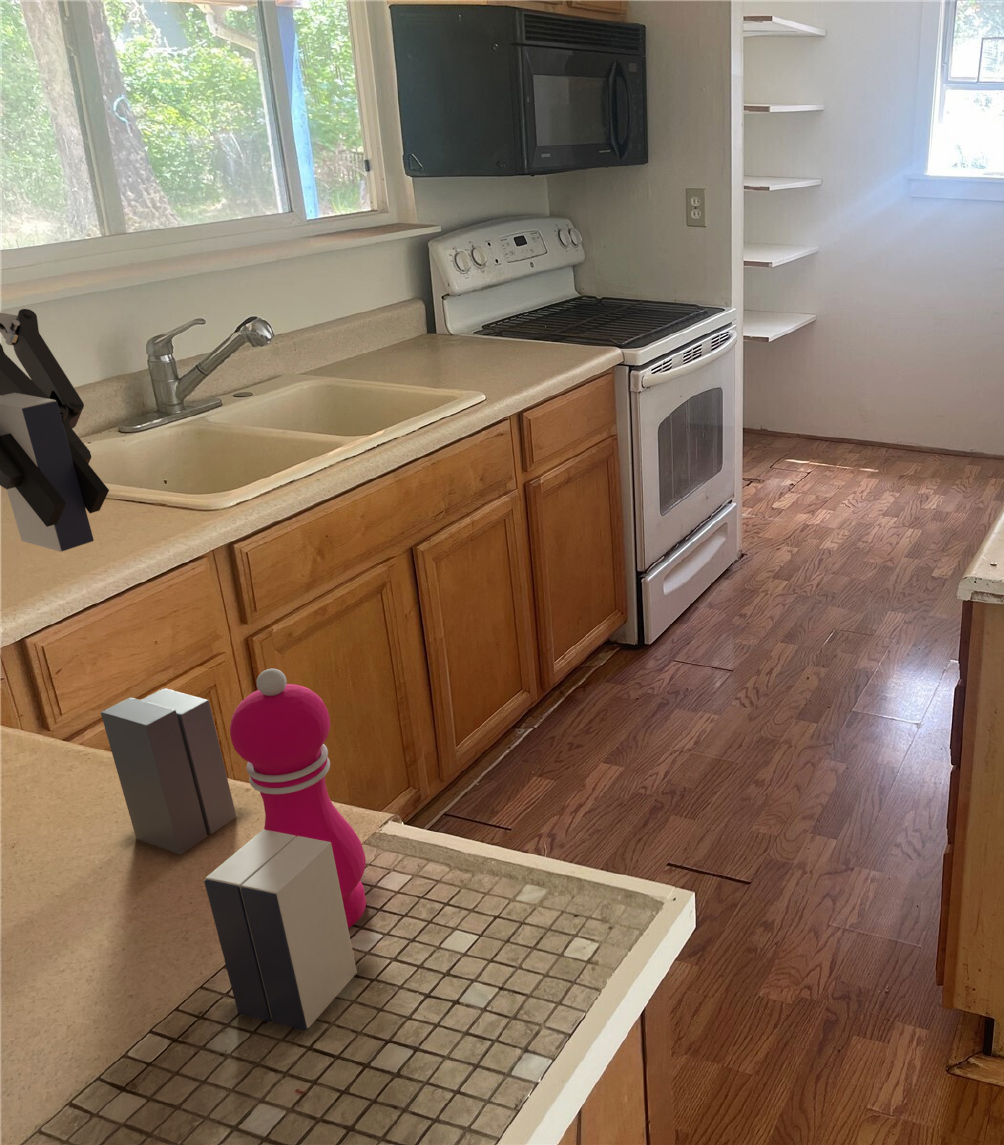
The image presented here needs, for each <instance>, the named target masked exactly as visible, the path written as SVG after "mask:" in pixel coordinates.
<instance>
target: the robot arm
mask: <svg viewBox="0 0 1004 1145" xmlns="http://www.w3.org/2000/svg"><path fill="white" fill-rule="evenodd" d="M0 334H1V335H2V338H3V339H4V340H5V343H6V345H8V346H13V351H14V353H15V356H16V357H17V359H18V361H19V363H20V364H21V366H22V367H23V369H24V370H25V372H26V373H27V374H26V373H25V372H24V371H23V369H21V368H20V367H19V366H18V365H17V364H16V363H15V362H14V361H13V360H12V359H11V358H10V357H9V356H8V355H7V354H6V353H5V351H4V347H3V345H2V343H1V342H0V396H1V395H6V394H11V393H19V394H25V395H30V396H36V397H41V398H47V399H53V400H56V401H57V403H58V407H59V411H60V415H61V418H62V422H63V426H64V430H65V434H66V437H67V441H68V445H69V449H70V452H71V456H72V460H73V464H74V468H75V471H76V475H77V479H78V483H79V486H80V490H81V494H82V498H83V501H84V505H85V509H86V512H88V513H89V514H93V513H96V512H100V511H101V509H102V507H103V504H104V502H105V500H106V498H107V496H108V494H109V492H110V489H109V488H108V487H107V485H106V484H105V483H104V481H102V479H101V477H99V475H98V474H97V472H95V470H94V469H93V468H92V467H91V465H90V461H91V459H92V454H91V451H90V450H89V448H88V447H87V446H86V445H85V443H84V442H83V441H82V439H81V438H80V437H79V436H78V434H77V433H76V432H75V431H74V428H75V427H76V426H77V424H78V422H79V419H80V417H81V416H82V412H83V410H84V408H85V404H84V401H83V400H82V398H81V397H80V395H79V393H78V392H77V390H76V389H75V387H74V385H73V383H72V382H71V381H70V379H69V378H68V376H67V375H66V372H64V370H63V368H62V366H61V365H60V363H59V362H58V360H57V358H56V357H55V355H54V354H53V352H52V351H51V349H50V348H49V346H48V345H47V342H45V340H44V337H42V335H41V334H40V329H39V322H38V316H37V313H35V312H34V311H33V310H31V309H28V308H21V309H19V310H18V312H17V315H16V314H11V313H6V312H0ZM0 487H2V488H3V489H5V490H7V489H11V488H14V487H16V489H17V490H18V491H19V493H20V494H21V495H22V496H23V498H24V499H25V500H26V501H27V503H28V504H29V505H30V506H31V508H32V509H33V510H34V511H35V513H36V514H37V515H38V517H39V518H40V519H41V520H42V522H43V523H44V524H45V525H46V527H48V526H52V525H55V524H57V523H58V521H59V518H60V516H61V514H62V511H63V509H64V507H65V505H66V502H65V501H64V500H63V498H62V497H61V496H60V495H59V493H58V492H57V491H56V489H55V488H54V487H53V486H52V484H51V483H50V482H49V481H48V479H47V478H46V477H45V476H44V474H43V473H42V472H41V471H40V469H39V468H38V467H37V466H36V465H35V463H34V462H33V461H32V460H31V458H30V457H29V456H28V455H27V453H26V452H25V451H24V450H23V448H22V447H21V446H20V445H19V443H18V442H17V441H16V439H15V438H14V437H13V436H12V434H11V433H10V434H5V435H1V436H0Z"/></svg>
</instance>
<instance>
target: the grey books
mask: <svg viewBox="0 0 1004 1145" xmlns="http://www.w3.org/2000/svg"><path fill="white" fill-rule="evenodd" d="M100 715H101V719H102V724H103V727H104V730H105V733H106V737H107V740H108V744H109V747H110V751H111V754H112V758H113V762H114V765H115V769H116V773H117V776H118V779H119V784H120V786H121V790H122V793H123V798H124V801H125V803H126V807H127V808H126V809H127V812H128V815H129V817H130V822H131V825H132V828H133V833H134V836H135V839H136V840H139V841H141V842H144V843H147V844H149V845H152V846H155V847H158V848H161V849H163V850H167V851H169V852H171V853H174V854H178V855H182V854H183V853H185V852H187V851H188V850H190V849H192V848H193V847H194V846H196V845H197V844H199V843H200V842H202V841H203V840H205V839H206V838H208V834H209V835H212V834H214V833H216V832H217V831H219V830H220V829H221V828H223V827H224V826H226V825H228V824H229V823H230V822H232V821H233V820H235V819H236V818H237V812H236V809H235V805H234V800H233V796H232V792H231V787H230V783H229V779H228V775H227V771H226V766H225V763H224V758H223V754H222V750H221V745H220V741H219V738H218V734H217V729H216V724H215V721H214V716H213V712H212V708H211V703H210V700H209V699H206V698H203V697H199V696H195V695H191V694H187V693H184V692H180V691H176V690H173V689H169V688H166V687H163V688H161V689H159V690H157V691H156V692H153V693H151V694H149V695H147V696H146V697H143V698H142V699H139V698H134V697H128V698H126V699H124V700H121V701H120V702H118V703H116V704H114V705H112V706H110V707H107V708H106V709H103V710H102V711H100Z"/></svg>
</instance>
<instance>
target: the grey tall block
mask: <svg viewBox="0 0 1004 1145" xmlns="http://www.w3.org/2000/svg"><path fill="white" fill-rule="evenodd" d="M203 883H204V887H205V891H206V894H207V899H208V903H209V907H210V909H211V914H212V918H213V922H214V925H215V929H216V933H217V937H218V940H219V945H220V949H221V952H222V956H223V960H224V964H225V967H226V972H227V976H228V980H229V983H230V988H231V991H232V995H233V999H234V1003H235V1006H236V1010H237V1014H238V1015H242V1016H244V1017H245V1016H246V1017H249V1018H253V1019H257V1020H262V1021H265V1022H269V1023H271V1022H272V1023H274V1024H278V1025H282V1026H284V1027H285V1026H286V1027H289V1028H293V1029H296V1030H297V1029H298V1030H301V1031H307V1030H308V1029H309V1028H310V1027H311V1026H312V1025H313V1024H314V1022H315V1021H316V1020H317V1019H318V1018H319V1017H320V1016H321V1014H323V1012H324V1011H325V1010H326V1009H327V1008H328V1007H329V1005H330V1004H331V1003H332V1002H333V1001H334V1000H335V999H336V998H337V996H338V995H339V994H340V993H341V991H343V990H344V988H345V987H346V986H347V984H349V982H350V981H351V980H353V978H354V977H355V976H356V974H358V971H357V966H356V961H355V956H354V950H353V945H352V942H351V936H350V930H349V928H348V925H347V920H346V915H345V910H344V905H343V900H342V895H341V890H340V885H339V880H338V875H337V870H336V865H335V860H334V855H333V850H332V845H331V842H327V841H322V840H317V839H311V838H306V837H301V836H297V837H296V836H295V835H290V834H285V833H280V832H274V831H269V830H264V828H263V829H261V830H260V831H259V832H257V834H255V835H254V836H253V837H252V838H250V840H248V841H247V842H246V843H245V844H243V845H242V846H241V847H240V848H238V849H237V851H235V852H234V853H233V854H232V855H230V856H229V857H228V858H227V859H226V860H224V861H223V862H222V863H221V864H220V865H219V866H217V867H216V868H215V869H214V870H212V872H210V873H209V874H207V876H206V877H205V879H204V880H203Z"/></svg>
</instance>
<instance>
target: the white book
mask: <svg viewBox="0 0 1004 1145" xmlns="http://www.w3.org/2000/svg"><path fill="white" fill-rule="evenodd" d="M10 433H11V434H12V436H13V437H14V438H15V439H16V441H17V442H18V443H19V445H20V446H21V447H22V448H23V450H24V451H25V452H26V453H27V455H28V456H29V457H30V458H31V460H32V461H33V462H34V463H35V465H36V466H37V467H38V468H39V469H40V471H41V472H42V473H43V474H44V476H45V477H46V478H47V479H48V481H49V482H50V483H51V484H52V486H53V487H54V488H55V489H56V491H57V492H58V493H59V495H60V496H61V497H62V498H63V500H64V501H65V502H66V505H65V507H64V509H63V511H62V514H61V516H60V518H59V521H58V523H57V524H55V525H52V526H48V527H46V525H45V524H44V523H43V522H42V520H41V519H40V518H39V517H38V515H37V514H36V513H35V511H34V510H33V509H32V508H31V506H30V505H29V504H28V503H27V501H26V500H25V499H24V498H23V496H22V495H21V494H20V493H19V491H18V490H17V489H16V487H14V488H11V489H6V492H7V495H8V496H7V497H8V499H9V502H10V505H11V508H12V513H13V516H14V520H15V523H16V526H17V529H18V533H19V537H20V539H21V542H24V543H27V544H30V545H34V546H38V547H42V548H46V549H49V550H52V551H56V552H60V553H62V552H66V551H68V550H72V549H75V548H77V547H81V546H83V545H86V544H89V543H92V542H93V541H94V536H93V532H92V529H91V524H90V521H89V517H88V514H87V509H86V508H85V505H84V501H83V498H82V494H81V490H80V486H79V483H78V479H77V475H76V471H75V468H74V464H73V460H72V456H71V452H70V449H69V445H68V441H67V437H66V434H65V430H64V426H63V422H62V418H61V415H60V411H59V407H58V403H57V401H56V400H53V399H47V398H41V397H36V396H30V395H25V394H19V393H11V394H6V395H1V396H0V436H1V435H5V434H10Z"/></svg>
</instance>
